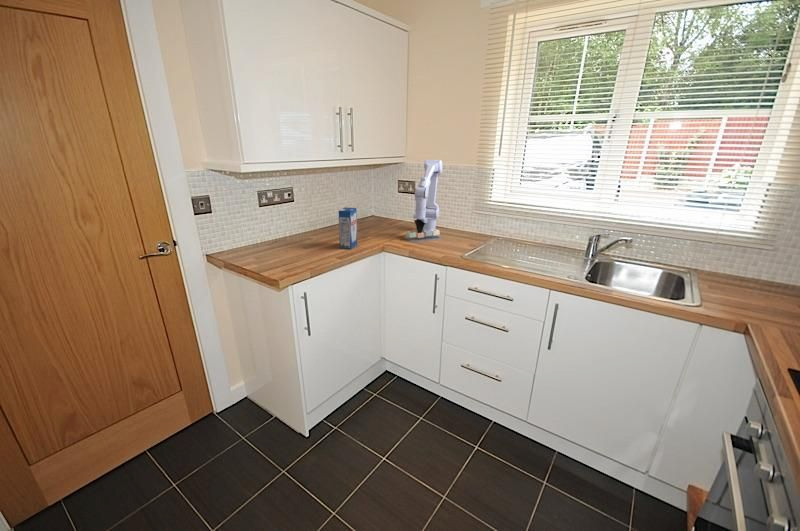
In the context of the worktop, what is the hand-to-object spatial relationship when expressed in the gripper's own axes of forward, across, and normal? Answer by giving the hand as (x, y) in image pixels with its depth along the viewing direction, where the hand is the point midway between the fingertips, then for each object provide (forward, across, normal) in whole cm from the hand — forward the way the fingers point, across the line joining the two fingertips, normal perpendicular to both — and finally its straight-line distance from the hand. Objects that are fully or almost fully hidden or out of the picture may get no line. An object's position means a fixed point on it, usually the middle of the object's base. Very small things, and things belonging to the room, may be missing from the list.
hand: (419, 232), depth 196 cm
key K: (+2, 0, +5) cm, 5 cm away
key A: (+2, 0, +10) cm, 10 cm away
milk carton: (+5, -1, -42) cm, 42 cm away
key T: (+2, 0, 0) cm, 2 cm away
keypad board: (+5, 0, +2) cm, 5 cm away
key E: (+2, 0, -5) cm, 5 cm away
